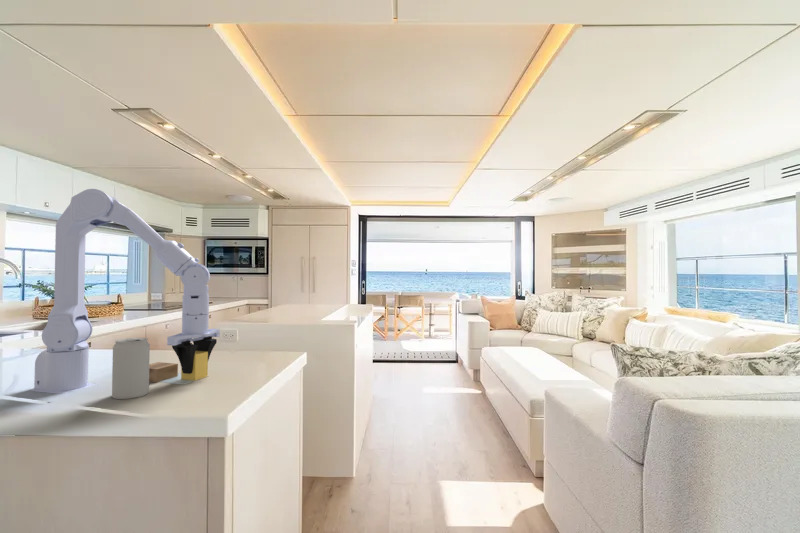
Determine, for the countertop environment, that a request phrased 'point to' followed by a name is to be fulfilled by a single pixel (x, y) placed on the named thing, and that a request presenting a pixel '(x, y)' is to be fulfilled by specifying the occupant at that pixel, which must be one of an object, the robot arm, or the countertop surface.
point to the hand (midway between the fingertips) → (194, 371)
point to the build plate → (178, 380)
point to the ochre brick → (198, 367)
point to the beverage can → (130, 368)
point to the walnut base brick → (162, 371)
